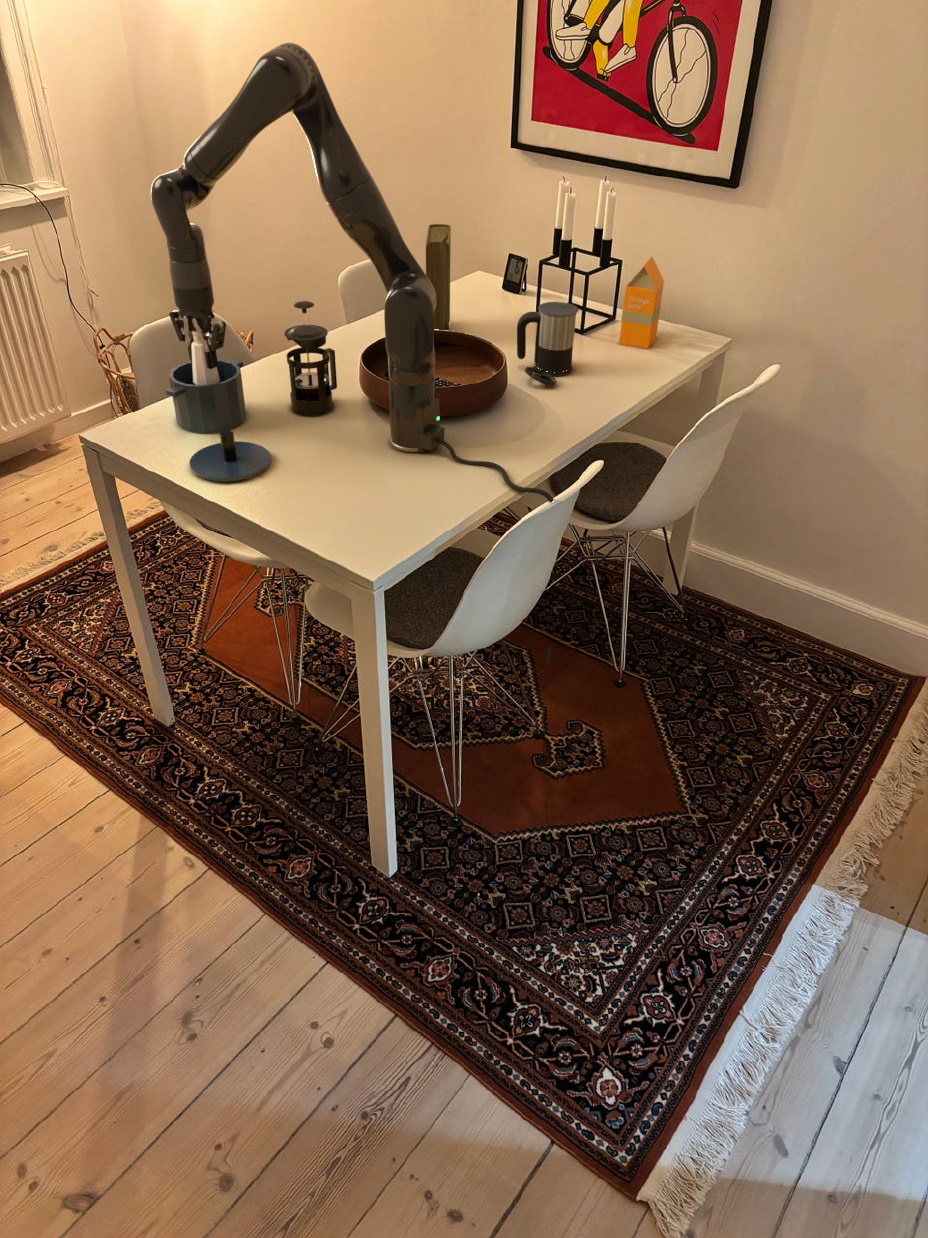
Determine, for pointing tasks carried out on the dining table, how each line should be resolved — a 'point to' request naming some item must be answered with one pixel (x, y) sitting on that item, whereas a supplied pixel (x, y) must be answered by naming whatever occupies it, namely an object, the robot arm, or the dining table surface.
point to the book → (439, 271)
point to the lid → (230, 459)
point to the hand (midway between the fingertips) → (204, 364)
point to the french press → (310, 382)
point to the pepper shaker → (201, 364)
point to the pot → (208, 398)
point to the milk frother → (549, 340)
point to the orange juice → (642, 307)
